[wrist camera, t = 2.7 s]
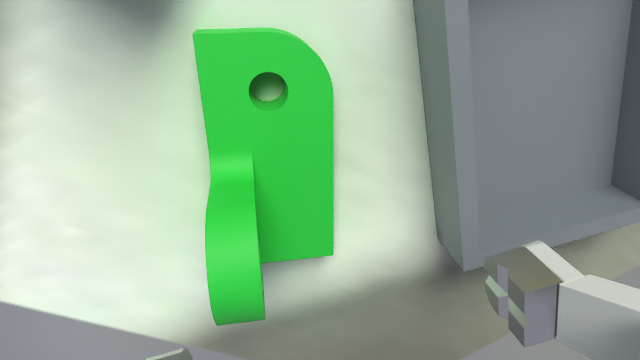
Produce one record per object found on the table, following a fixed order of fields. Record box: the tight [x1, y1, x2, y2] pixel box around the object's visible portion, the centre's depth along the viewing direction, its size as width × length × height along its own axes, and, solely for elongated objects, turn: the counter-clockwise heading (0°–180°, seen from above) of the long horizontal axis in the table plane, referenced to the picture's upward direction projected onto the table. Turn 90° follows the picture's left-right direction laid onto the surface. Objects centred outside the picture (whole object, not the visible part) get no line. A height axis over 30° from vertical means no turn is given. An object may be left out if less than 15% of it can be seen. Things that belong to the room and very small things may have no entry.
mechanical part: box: [193, 28, 333, 326], centre depth 19 cm, size 12×6×8 cm, turn 1°
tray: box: [413, 0, 640, 272], centre depth 21 cm, size 12×17×4 cm
